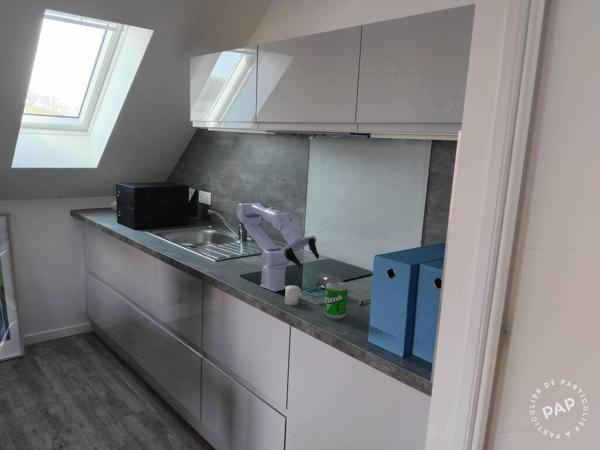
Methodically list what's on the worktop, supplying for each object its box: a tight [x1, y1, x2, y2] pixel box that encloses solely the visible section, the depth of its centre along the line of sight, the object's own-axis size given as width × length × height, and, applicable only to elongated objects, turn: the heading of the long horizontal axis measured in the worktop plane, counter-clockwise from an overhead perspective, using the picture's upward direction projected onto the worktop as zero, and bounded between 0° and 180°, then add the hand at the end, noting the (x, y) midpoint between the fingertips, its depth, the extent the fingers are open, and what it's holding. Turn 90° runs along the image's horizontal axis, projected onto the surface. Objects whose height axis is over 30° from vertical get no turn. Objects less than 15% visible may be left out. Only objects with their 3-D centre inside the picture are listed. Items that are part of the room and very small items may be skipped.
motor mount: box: [298, 273, 344, 305], centre depth 178 cm, size 12×18×8 cm, turn 137°
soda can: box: [323, 280, 349, 320], centre depth 158 cm, size 8×8×12 cm
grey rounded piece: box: [284, 284, 302, 306], centre depth 170 cm, size 5×7×6 cm
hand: (309, 261), depth 168 cm, fingers open, 7 cm apart
